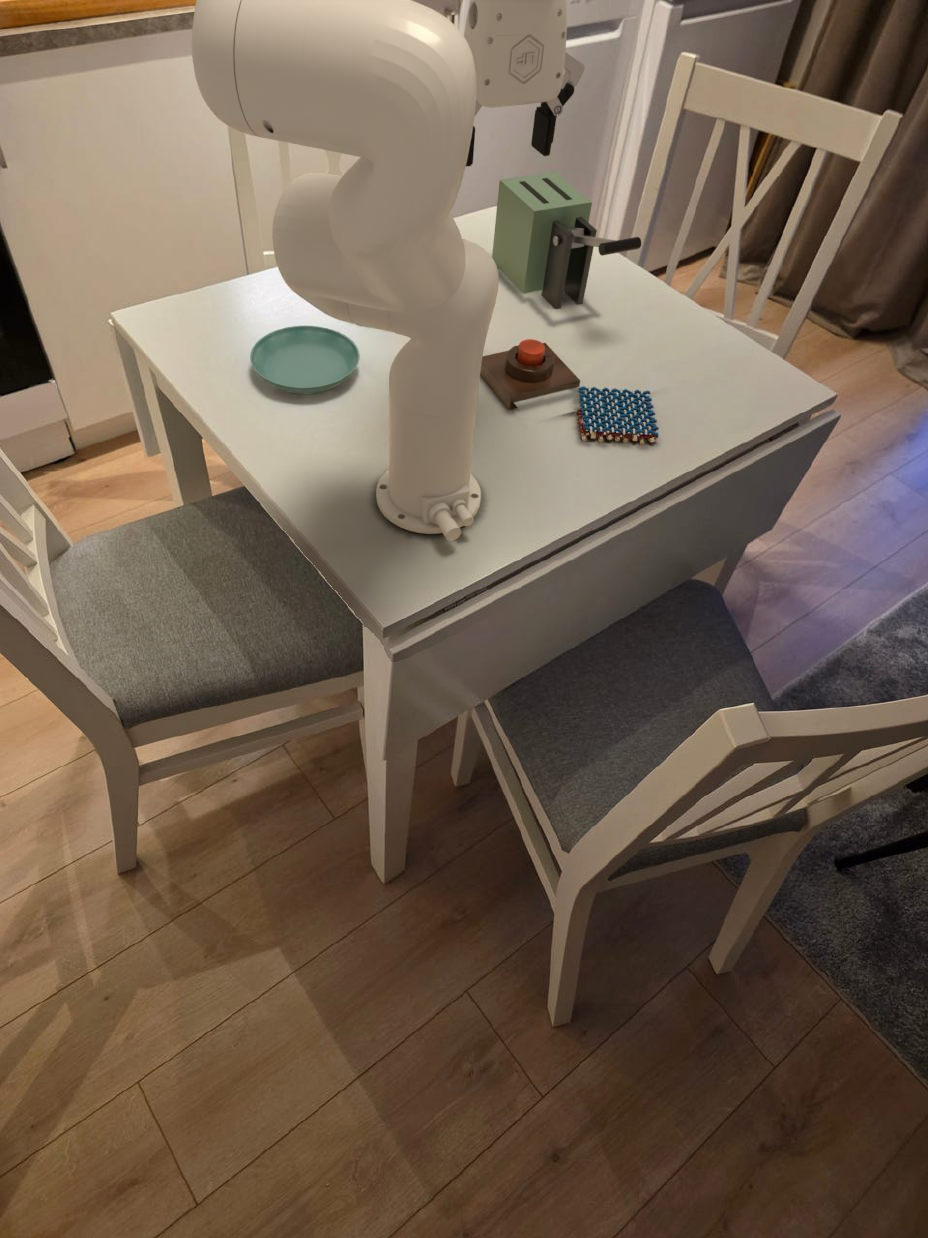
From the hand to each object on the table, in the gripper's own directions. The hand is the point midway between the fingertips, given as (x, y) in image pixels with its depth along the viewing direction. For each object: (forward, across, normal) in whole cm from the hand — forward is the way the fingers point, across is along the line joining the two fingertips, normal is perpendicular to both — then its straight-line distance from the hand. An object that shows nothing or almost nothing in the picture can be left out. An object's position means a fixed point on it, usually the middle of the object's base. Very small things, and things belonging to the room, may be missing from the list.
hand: (502, 156), depth 91 cm
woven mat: (+31, +14, -13) cm, 36 cm away
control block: (+30, +7, -1) cm, 31 cm away
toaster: (+30, +22, +24) cm, 45 cm away
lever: (+18, +22, +9) cm, 30 cm away
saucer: (+31, -21, +12) cm, 39 cm away
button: (+27, +7, -1) cm, 28 cm away
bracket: (+30, +22, +15) cm, 40 cm away
